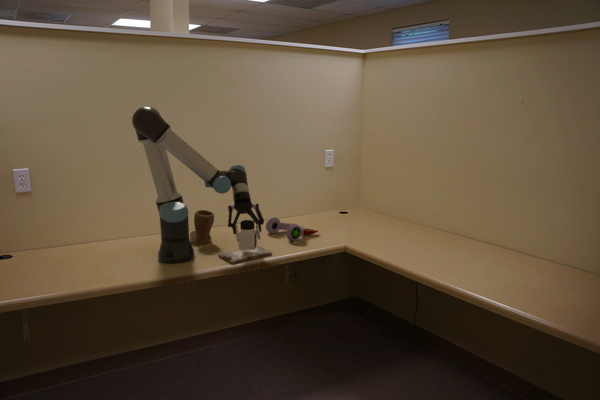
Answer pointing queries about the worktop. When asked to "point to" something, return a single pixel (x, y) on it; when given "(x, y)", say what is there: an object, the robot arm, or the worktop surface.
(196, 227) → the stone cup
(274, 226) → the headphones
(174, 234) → the robot arm
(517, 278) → the worktop surface
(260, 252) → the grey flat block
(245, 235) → the medicine bottle
